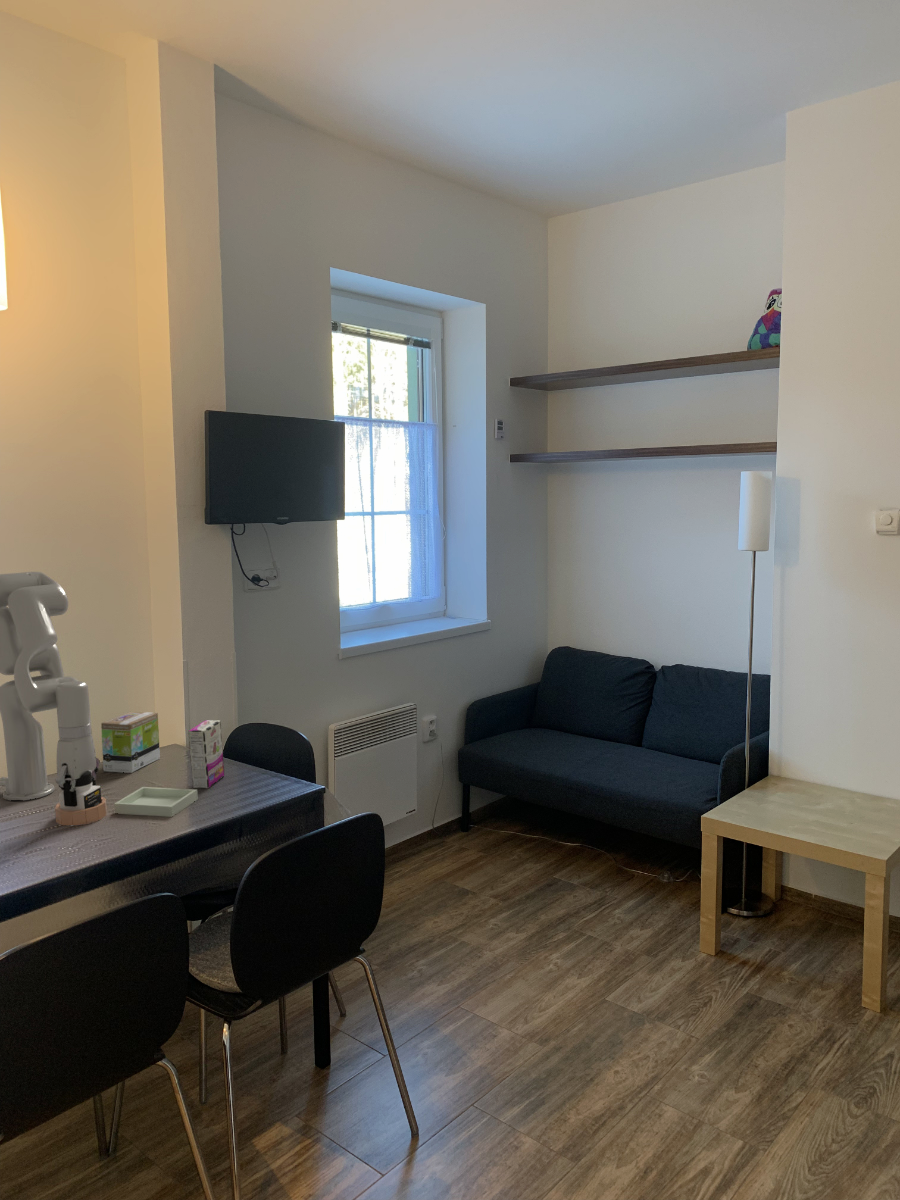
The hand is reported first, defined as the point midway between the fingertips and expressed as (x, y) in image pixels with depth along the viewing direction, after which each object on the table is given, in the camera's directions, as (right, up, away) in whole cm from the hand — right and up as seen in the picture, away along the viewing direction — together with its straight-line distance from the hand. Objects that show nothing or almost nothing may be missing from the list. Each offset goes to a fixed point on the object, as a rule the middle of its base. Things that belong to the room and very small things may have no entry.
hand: (80, 800), depth 226 cm
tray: (+17, -3, +7) cm, 18 cm away
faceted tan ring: (0, -4, +1) cm, 4 cm away
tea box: (-2, 0, +44) cm, 44 cm away
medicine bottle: (0, -5, +1) cm, 5 cm away
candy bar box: (+25, -1, +25) cm, 36 cm away
